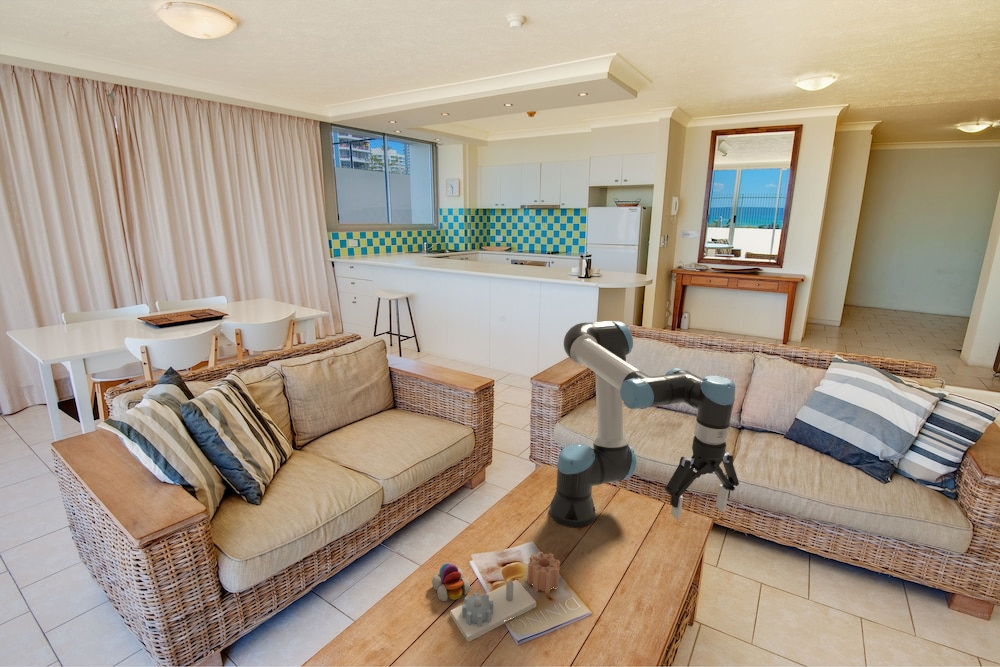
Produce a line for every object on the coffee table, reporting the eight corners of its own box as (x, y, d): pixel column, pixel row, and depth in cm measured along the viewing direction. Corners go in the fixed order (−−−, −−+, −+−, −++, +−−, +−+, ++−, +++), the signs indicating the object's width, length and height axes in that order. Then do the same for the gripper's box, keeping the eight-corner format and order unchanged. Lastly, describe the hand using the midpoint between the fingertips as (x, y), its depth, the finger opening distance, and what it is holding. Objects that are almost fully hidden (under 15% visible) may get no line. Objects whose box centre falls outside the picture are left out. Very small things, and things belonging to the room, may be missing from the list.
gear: (522, 577, 132) (522, 558, 131) (545, 566, 137) (546, 548, 135) (540, 597, 126) (541, 578, 124) (564, 585, 130) (566, 566, 128)
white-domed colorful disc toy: (442, 609, 121) (442, 585, 120) (429, 583, 130) (429, 560, 128) (472, 597, 125) (472, 574, 123) (458, 573, 133) (458, 551, 132)
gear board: (450, 615, 119) (450, 595, 118) (516, 584, 130) (516, 565, 128) (467, 642, 112) (468, 621, 111) (535, 606, 123) (536, 587, 121)
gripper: (675, 451, 111) (664, 529, 116) (763, 440, 117) (748, 514, 123) (657, 436, 118) (647, 511, 123) (740, 426, 124) (728, 498, 130)
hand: (698, 513), depth 123 cm, fingers open, 13 cm apart
